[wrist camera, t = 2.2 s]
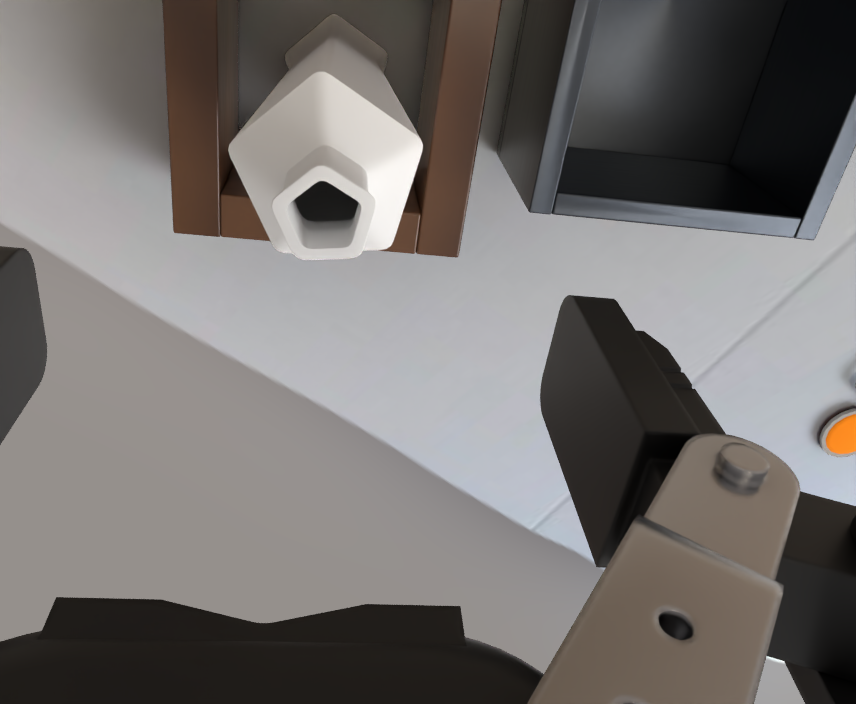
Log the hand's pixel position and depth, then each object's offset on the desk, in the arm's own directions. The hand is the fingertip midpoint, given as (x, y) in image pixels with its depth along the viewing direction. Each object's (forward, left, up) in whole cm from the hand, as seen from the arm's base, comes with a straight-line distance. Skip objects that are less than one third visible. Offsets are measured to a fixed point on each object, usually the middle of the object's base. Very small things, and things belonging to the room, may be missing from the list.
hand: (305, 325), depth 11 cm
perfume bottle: (0, 0, -20) cm, 20 cm away
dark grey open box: (+12, +4, -20) cm, 24 cm away
